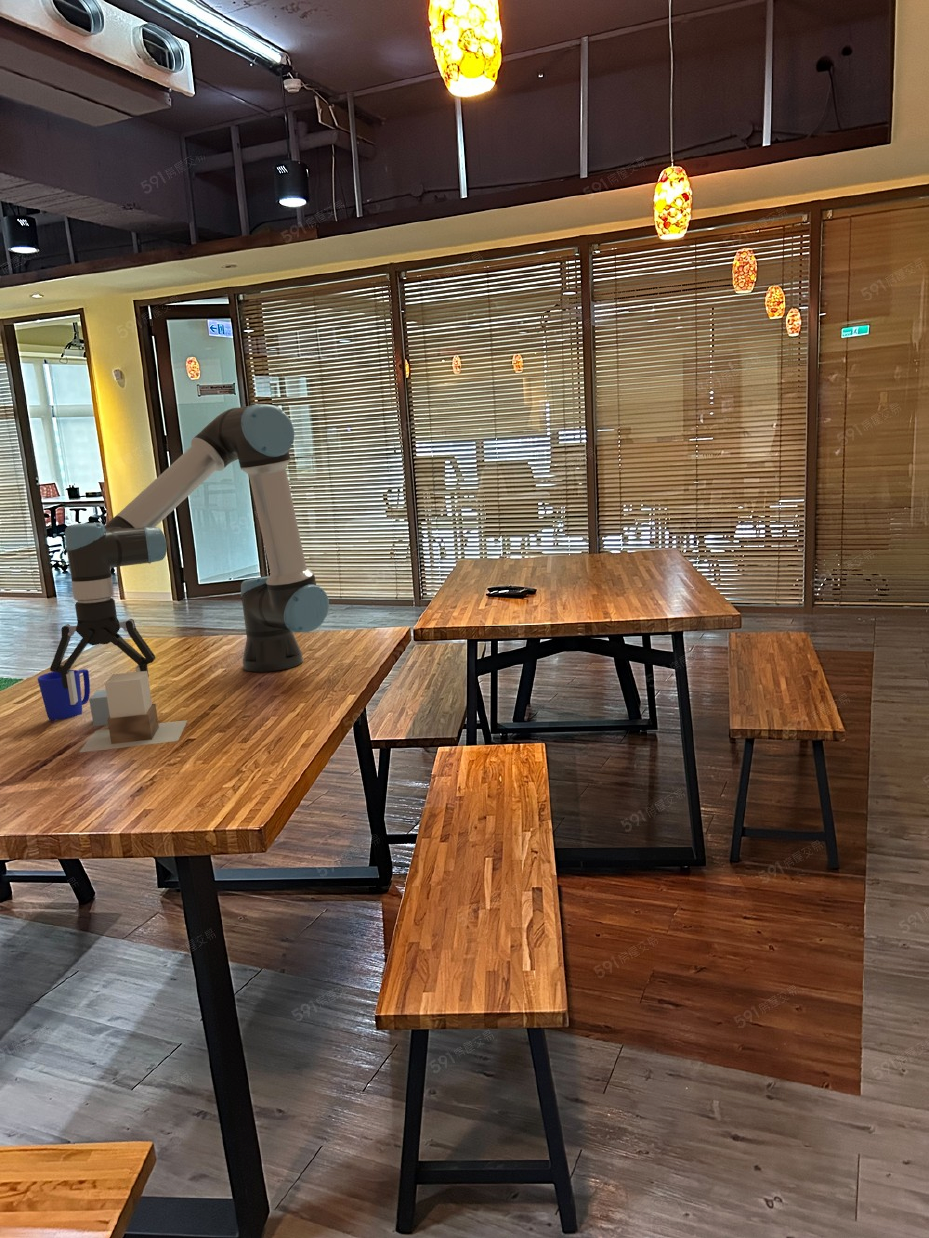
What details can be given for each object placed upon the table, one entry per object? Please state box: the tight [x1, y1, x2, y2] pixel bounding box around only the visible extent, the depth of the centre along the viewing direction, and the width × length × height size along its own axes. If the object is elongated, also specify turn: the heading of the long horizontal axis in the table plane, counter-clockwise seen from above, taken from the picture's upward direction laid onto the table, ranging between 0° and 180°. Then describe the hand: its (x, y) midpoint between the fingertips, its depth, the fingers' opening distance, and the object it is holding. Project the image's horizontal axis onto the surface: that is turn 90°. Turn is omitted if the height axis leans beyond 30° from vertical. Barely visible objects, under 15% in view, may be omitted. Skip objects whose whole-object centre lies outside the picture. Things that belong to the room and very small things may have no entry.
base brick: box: [107, 703, 159, 744], centre depth 167 cm, size 8×8×5 cm
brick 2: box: [104, 671, 153, 718], centre depth 166 cm, size 6×6×7 cm
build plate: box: [78, 719, 189, 753], centre depth 168 cm, size 18×13×1 cm
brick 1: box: [88, 688, 110, 727], centre depth 179 cm, size 6×6×7 cm
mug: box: [37, 669, 91, 723], centre depth 187 cm, size 8×12×10 cm
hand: (108, 699), depth 178 cm, fingers open, 13 cm apart
